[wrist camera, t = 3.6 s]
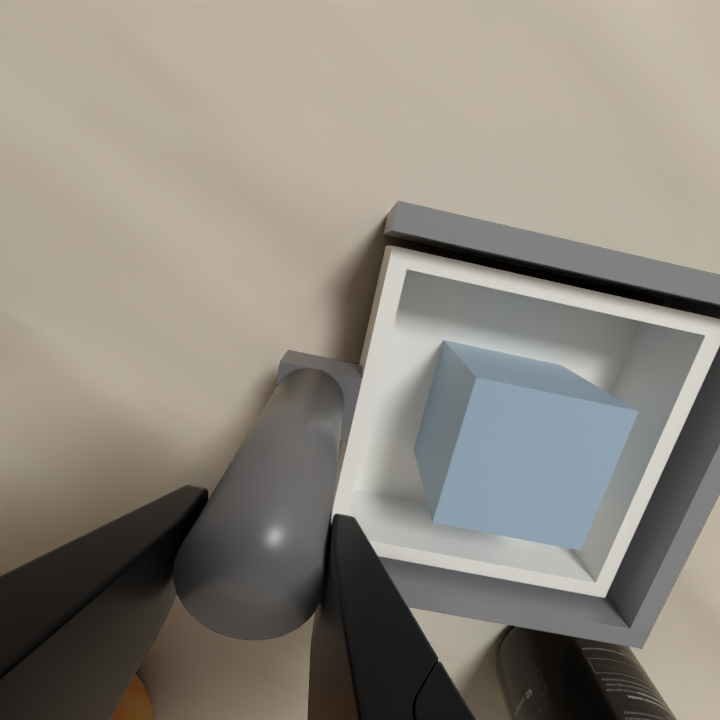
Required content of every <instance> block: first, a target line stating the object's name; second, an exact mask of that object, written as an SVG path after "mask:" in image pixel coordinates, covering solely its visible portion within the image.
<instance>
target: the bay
mask: <svg viewBox="0 0 720 720" xmlns="http://www.w3.org/2000/svg"><path fill="white" fill-rule="evenodd" d="M383 235H387V236H391V237H396V238H400V239H405V240H409V241H414V242H418V243H422V244H427V245H431V246H436V247H440V248H445V249H449V250H453V251H458V252H462V253H467V254H471V255H476V256H480V257H484V258H489V259H493V260H498V261H502V262H507V263H511V264H515V265H520V266H524V267H529V268H533V269H538V270H542V271H546V272H551V273H555V274H560V275H564V276H569V277H573V278H577V279H582V280H586V281H591V282H595V283H600V284H604V285H608V286H613V287H617V288H622V289H626V290H631V291H635V292H639V293H644V294H648V295H653V296H657V297H662V298H664V301H663V303H662V305H661V306H664V307H668V308H672V309H677V310H681V311H686V312H690V313H695V314H699V315H704V316H708V317H712V318H717V319H720V275H718V274H714V273H710V272H705V271H701V270H697V269H692V268H688V267H683V266H679V265H675V264H670V263H666V262H662V261H657V260H653V259H649V258H644V257H640V256H636V255H631V254H627V253H623V252H618V251H614V250H610V249H605V248H601V247H597V246H592V245H588V244H584V243H579V242H575V241H571V240H566V239H562V238H558V237H553V236H549V235H545V234H540V233H536V232H532V231H527V230H523V229H519V228H514V227H510V226H506V225H501V224H497V223H493V222H488V221H484V220H480V219H475V218H471V217H467V216H462V215H458V214H454V213H449V212H445V211H441V210H436V209H432V208H428V207H423V206H419V205H415V204H410V203H406V202H402V201H398V202H397V203H396V204H395V205H394V207H393V208H392V209H391V210H390V212H389V213H388V214H387V219H386V223H385V228H384V232H383ZM719 495H720V346H719V348H718V350H717V353H716V355H715V357H714V359H713V361H712V364H711V366H710V368H709V370H708V372H707V375H706V377H705V379H704V381H703V383H702V386H701V388H700V390H699V392H698V394H697V397H696V399H695V401H694V403H693V405H692V408H691V410H690V412H689V414H688V416H687V419H686V421H685V423H684V425H683V427H682V430H681V432H680V434H679V436H678V438H677V441H676V443H675V445H674V447H673V449H672V452H671V454H670V456H669V458H668V460H667V463H666V465H665V467H664V469H663V471H662V474H661V476H660V478H659V480H658V482H657V485H656V487H655V489H654V491H653V493H652V496H651V498H650V500H649V502H648V504H647V507H646V509H645V511H644V513H643V515H642V518H641V520H640V522H639V524H638V526H637V529H636V531H635V533H634V535H633V537H632V540H631V542H630V544H629V546H628V548H627V551H626V553H625V555H624V557H623V559H622V562H621V564H620V566H619V568H618V570H617V572H616V575H615V577H614V579H613V581H612V583H611V586H610V588H609V590H608V592H607V594H606V597H605V598H603V597H597V596H592V595H586V594H581V593H575V592H570V591H565V590H559V589H554V588H548V587H543V586H537V585H532V584H527V583H521V582H516V581H510V580H505V579H500V578H494V577H489V576H483V575H478V574H472V573H467V572H462V571H456V570H451V569H445V568H440V567H435V566H429V565H424V564H418V563H413V562H407V561H402V560H397V559H391V558H386V557H380V556H378V557H379V559H380V560H381V562H382V564H383V565H384V567H385V569H386V571H387V572H388V574H389V576H390V577H391V579H392V581H393V582H394V584H395V586H396V587H397V589H398V591H399V593H400V594H401V596H402V598H403V599H404V601H405V603H406V604H407V606H408V607H411V608H416V609H422V610H428V611H433V612H439V613H444V614H450V615H456V616H461V617H467V618H472V619H478V620H484V621H489V622H495V623H500V624H506V625H512V626H517V627H523V628H528V629H534V630H540V631H545V632H551V633H556V634H562V635H568V636H573V637H579V638H584V639H590V640H595V641H601V642H607V643H612V644H618V645H623V646H629V647H635V648H640V649H642V648H643V646H644V644H645V642H646V640H647V638H648V636H649V634H650V632H651V630H652V628H653V626H654V624H655V622H656V620H657V618H658V616H659V614H660V612H661V610H662V608H663V606H664V604H665V602H666V600H667V598H668V596H669V594H670V592H671V590H672V588H673V586H674V584H675V582H676V580H677V578H678V576H679V574H680V572H681V570H682V568H683V566H684V564H685V562H686V560H687V558H688V556H689V554H690V552H691V550H692V548H693V546H694V544H695V542H696V540H697V538H698V536H699V535H700V533H701V531H702V529H703V527H704V525H705V523H706V521H707V519H708V517H709V515H710V513H711V511H712V509H713V507H714V505H715V503H716V501H717V499H718V497H719Z"/></svg>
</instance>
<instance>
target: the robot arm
mask: <svg viewBox="0 0 720 720" xmlns="http://www.w3.org/2000/svg"><path fill="white" fill-rule="evenodd" d="M207 502H208V490H207V489H206V488H202V487H197V486H191V485H186V486H183V487H181V488H179V489H177V490H175V491H173V492H171V493H169V494H167V495H165V496H163V497H161V498H159V499H157V500H155V501H153V502H150V503H148V504H146V505H144V506H142V507H140V508H138V509H136V510H134V511H132V512H130V513H128V514H126V515H124V516H122V517H120V518H118V519H116V520H114V521H112V522H110V523H108V524H106V525H103V526H101V527H99V528H97V529H95V530H93V531H91V532H89V533H87V534H85V535H83V536H81V537H79V538H77V539H75V540H73V541H71V542H69V543H67V544H65V545H63V546H61V547H58V548H56V549H54V550H52V551H50V552H48V553H46V554H44V555H42V556H40V557H38V558H36V559H34V560H32V561H30V562H28V563H26V564H24V565H22V566H20V567H18V568H16V569H14V570H11V571H9V572H7V573H5V574H3V575H1V576H0V720H110V718H111V717H112V715H113V713H114V711H115V709H116V708H117V706H118V704H119V702H120V700H121V699H122V697H123V695H124V693H125V691H126V690H127V688H128V686H129V684H130V683H131V681H132V679H133V677H134V675H135V674H136V672H137V670H138V668H139V666H140V665H141V663H142V661H143V659H144V657H145V656H146V654H147V652H148V650H149V648H150V647H151V645H152V643H153V641H154V639H155V638H156V636H157V634H158V632H159V631H160V629H161V627H162V625H163V623H164V621H165V619H166V617H167V615H168V613H169V611H170V608H171V606H172V604H173V602H174V599H175V597H176V595H177V592H176V589H175V586H174V581H173V565H174V560H175V557H176V554H177V552H178V550H179V548H180V546H181V545H182V543H183V541H184V540H185V538H186V536H187V535H188V533H189V531H190V530H191V528H192V526H193V525H194V523H195V521H196V520H197V518H198V516H199V515H200V513H201V511H202V510H203V508H204V506H205V505H206V503H207ZM308 720H476V718H475V717H474V715H473V714H472V712H471V710H470V709H469V707H468V706H467V704H466V702H465V701H464V699H463V698H462V696H461V695H460V693H459V691H458V690H457V688H456V687H455V685H454V683H453V682H452V680H451V678H450V677H449V675H448V673H447V671H446V670H445V668H444V666H443V665H442V663H441V662H438V657H437V655H436V653H435V652H434V650H433V648H432V647H431V645H430V643H429V641H428V640H427V638H426V636H425V635H424V633H423V631H422V630H421V628H420V626H419V625H418V623H417V621H416V620H415V618H414V616H413V614H412V613H411V611H410V609H409V608H408V606H407V604H406V603H405V601H404V599H403V598H402V596H401V594H400V593H399V591H398V589H397V587H396V586H395V584H394V582H393V581H392V579H391V577H390V576H389V574H388V572H387V571H386V569H385V567H384V565H383V564H382V562H381V560H380V559H379V557H378V555H377V554H376V552H375V550H374V549H373V547H372V545H371V544H370V542H369V540H368V538H367V537H366V535H365V533H364V532H363V530H362V528H361V527H360V525H359V523H358V522H357V520H356V518H355V517H353V516H348V515H343V514H335V515H334V516H333V519H332V523H331V528H330V537H329V546H328V554H327V563H326V572H325V583H324V589H323V593H322V597H321V601H320V604H319V606H318V608H317V609H316V611H315V617H314V623H313V631H312V639H311V652H310V673H309V697H308Z"/></svg>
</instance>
